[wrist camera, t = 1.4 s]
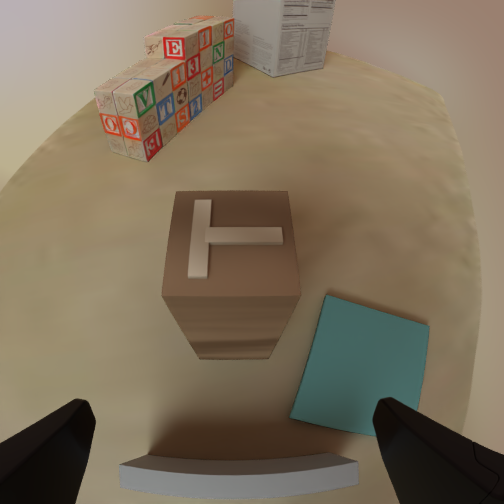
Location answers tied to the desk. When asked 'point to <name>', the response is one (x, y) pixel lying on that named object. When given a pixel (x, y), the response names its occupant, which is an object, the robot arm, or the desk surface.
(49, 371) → the desk surface
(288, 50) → the supplement box
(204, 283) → the letter block
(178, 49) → the stack of blocks
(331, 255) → the desk surface
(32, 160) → the desk surface
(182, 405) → the desk surface
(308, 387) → the mat
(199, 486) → the screen
